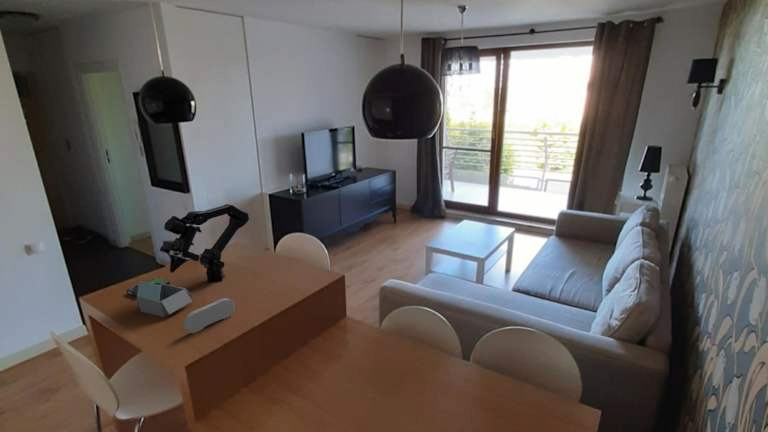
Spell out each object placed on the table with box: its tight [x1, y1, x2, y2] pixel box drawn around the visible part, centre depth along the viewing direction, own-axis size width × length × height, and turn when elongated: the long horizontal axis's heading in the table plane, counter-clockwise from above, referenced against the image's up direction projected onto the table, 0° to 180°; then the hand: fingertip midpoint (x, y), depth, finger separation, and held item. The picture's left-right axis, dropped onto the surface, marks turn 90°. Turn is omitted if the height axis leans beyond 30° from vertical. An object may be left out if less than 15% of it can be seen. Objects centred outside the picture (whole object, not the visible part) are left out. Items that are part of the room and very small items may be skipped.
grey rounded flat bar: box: [183, 297, 236, 334], centre depth 149 cm, size 20×2×8 cm, turn 140°
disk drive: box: [126, 277, 171, 299], centre depth 181 cm, size 10×3×15 cm
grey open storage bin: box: [135, 284, 194, 319], centre depth 165 cm, size 15×20×7 cm
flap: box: [137, 280, 161, 301], centre depth 157 cm, size 6×13×1 cm
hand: (171, 272), depth 168 cm, fingers closed
